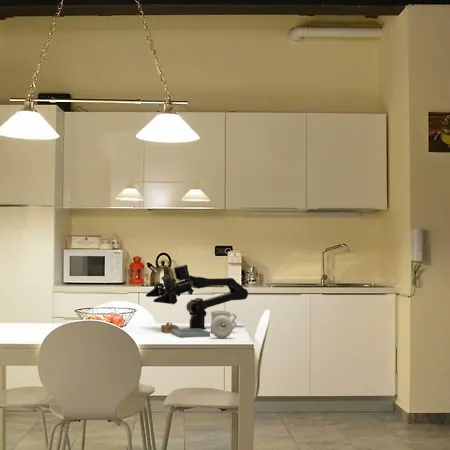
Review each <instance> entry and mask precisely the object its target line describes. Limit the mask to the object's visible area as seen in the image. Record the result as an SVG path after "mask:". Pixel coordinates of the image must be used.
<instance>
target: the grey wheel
mask: <svg viewBox="0 0 450 450" xmlns="http://www.w3.org/2000/svg"><path fill="white" fill-rule="evenodd" d="M220 323H224V324H225V326H226V328H225V330H223V331H221V330H219V328H218V325H219V324H220ZM233 326H234V324H233V323H232V319H230V317H229V318H228V317H226V316H223V315H222V316H217V317H215V318H214V319H213V321H212V320H211V322H210V332H211V331H212V332H211V333H212V334H213V335H214V336H215V337H217V338H219V339H226V338H228V337H229V336H231V334H232V333H233V330H234V329H233Z"/></svg>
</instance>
